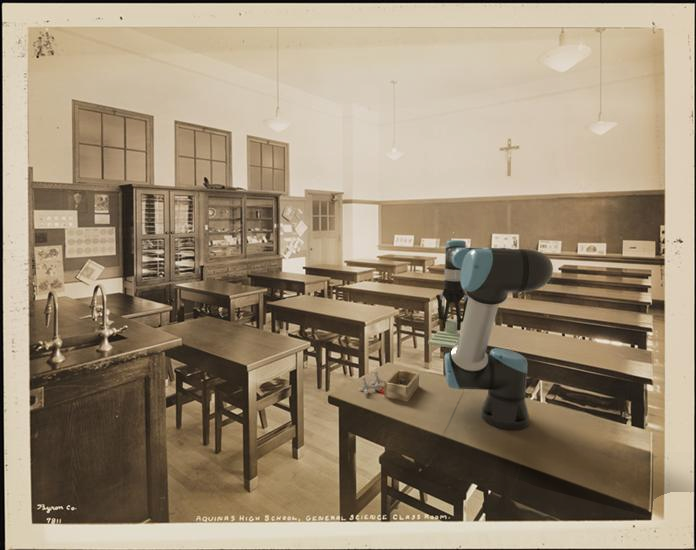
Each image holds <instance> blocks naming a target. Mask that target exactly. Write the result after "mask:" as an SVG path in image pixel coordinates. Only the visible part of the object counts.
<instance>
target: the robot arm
mask: <svg viewBox="0 0 696 550" xmlns="http://www.w3.org/2000/svg"><path fill="white" fill-rule="evenodd" d="M466 244H467V242H466V240H461V239H460V240H459V239H449V240H446V242H445V259H444V260H445V261H444V262H445V264H444V275H443V276H444V280H443V290H442V292H441V293H438V294H436V295H435V297H436V300H437V313H438V319H439V320H441V321H442V329H444V332H446V326H447V321H448V320H449V319H448V317H449V313H450V307H451V304H452V303H453V304H454V307H455V314H456V320H457V321H456V322H455V333H457V334H460V338H459V342H458V344H457V345H456V346H455V347H454V348H451V352H447V353H445V354H444V358H443V359H444V371H445V372H444V373H445V379H446V383H447V386H448V387H449V388H451V389H457V390H474V391H475V390H476V391H477V390H479V391H480V390H482V391H484V390H485V391H487V396H486V398H485V400H484V402H483V405H482V407H481V412H480V415H481V416H480V417H481V418H482V420H484V422H486V423H488V424H489V425H491V426H494V427H496V428H498V429H499V428H500V429H504V430H510V431H511V430H513V431H517V430H519V431H520V430H523V429H526V428H527V427H528V426H529V424H530V414H529V410H528V407H527V403H526V391H527V377H528V372H529V371H528V361H527V358H526V357H525V356H524V355H523V354H520V353H519V352H516V351H513V350H511V349H505V348H492V349H491V350H490V351H489V354H488V353H487V352H486V351H487V347H488V344H489V340H490V338H491V334H492V330H493V326H494V323H495V321H496V320H495V319H496V316H497V313H498V309H499V305H501V304H503V303H504V302H505V301H506V300H507V299H508V295H509V293H529V292H534V291H537V290H538V289H540V288H543V287H544V286H545V285H546V284H548V282H550V280H551V279H552V276H553V272H554V266H553V263H552V261H551V259H550V257H549V256H547V255H546V254H545V253H543V252H541V251H538V250H535V249H529V248H507V247H467V245H466ZM465 294H466V295H465ZM443 298H444V299H445V300H446V301H445V308H444V312H443ZM462 299H463V301H464V305H463V310H462V312H461V305H460V303H461V300H462ZM461 313H462V314H461ZM461 315H462V316H461ZM458 331H460V333H459V332H458Z"/></svg>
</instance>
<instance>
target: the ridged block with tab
mask: <svg viewBox="0 0 696 550" xmlns="http://www.w3.org/2000/svg"><path fill="white" fill-rule="evenodd" d="M447 320H448V321H447V326H446V332H445V331H440V330H437V331H436V332H435V334H433V336H432V337H431V338H429V340H428V341H427V345H430V346H435V347H436V346H438V347H443V348H444V347H446V348H451V349H453V348H454V347H455V346H456V345H457V344H458V343H459V338H460V333H458V334H457V333H455V322H456V321H457V318H456V319H453V318H449V319H447Z"/></svg>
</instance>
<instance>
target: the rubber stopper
mask: <svg viewBox="0 0 696 550" xmlns="http://www.w3.org/2000/svg"><path fill="white" fill-rule="evenodd" d="M401 384H403V385H406V379H400V385H401Z"/></svg>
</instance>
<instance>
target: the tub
mask: <svg viewBox="0 0 696 550" xmlns="http://www.w3.org/2000/svg"><path fill="white" fill-rule="evenodd" d="M400 379H406V386H403V385H400ZM386 380H387V381H386V382H385V383H384V390H385V392H384V394H383V395H384V398H388V399H394V400H399V401H403V402H406V403H407V402H409V401H410V399H411V398H412V396H413V395H414V393H415V392H416V391H417V390H418V388H419V387H420V373H419V372H413V371H408V370H402V369H396V370H395V372H394V373H392V375H391V376H390V377H389V378H388V379H386Z"/></svg>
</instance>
